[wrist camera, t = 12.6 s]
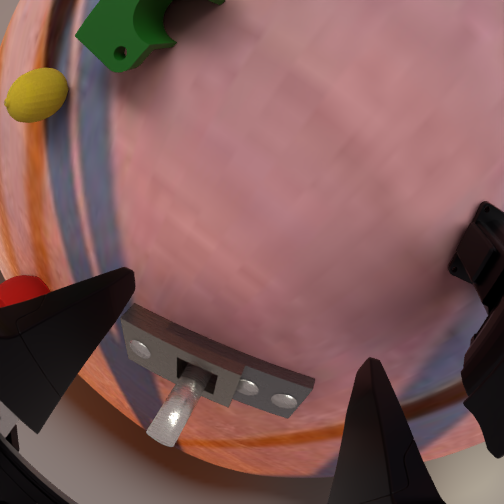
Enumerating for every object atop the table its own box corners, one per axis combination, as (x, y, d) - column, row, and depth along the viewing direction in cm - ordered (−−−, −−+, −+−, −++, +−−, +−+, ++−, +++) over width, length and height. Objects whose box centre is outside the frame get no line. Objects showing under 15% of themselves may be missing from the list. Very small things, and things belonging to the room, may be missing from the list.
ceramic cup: (61, 332, 50) (34, 361, 42) (19, 267, 44) (-13, 293, 36) (86, 334, 44) (53, 370, 36) (36, 256, 38) (-4, 287, 30)
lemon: (89, 90, 21) (21, 103, 14) (64, 123, 23) (4, 142, 17) (72, 55, 19) (8, 61, 12) (49, 89, 22) (-8, 102, 15)
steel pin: (219, 357, 33) (172, 442, 23) (216, 370, 35) (173, 449, 24) (195, 347, 33) (144, 427, 23) (193, 360, 35) (147, 436, 25)
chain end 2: (315, 378, 30) (312, 390, 28) (290, 409, 35) (287, 419, 33) (171, 321, 32) (164, 331, 31) (171, 361, 37) (165, 369, 36)
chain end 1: (249, 355, 31) (240, 377, 28) (236, 390, 36) (228, 408, 33) (134, 303, 33) (119, 319, 30) (139, 344, 38) (127, 359, 35)
